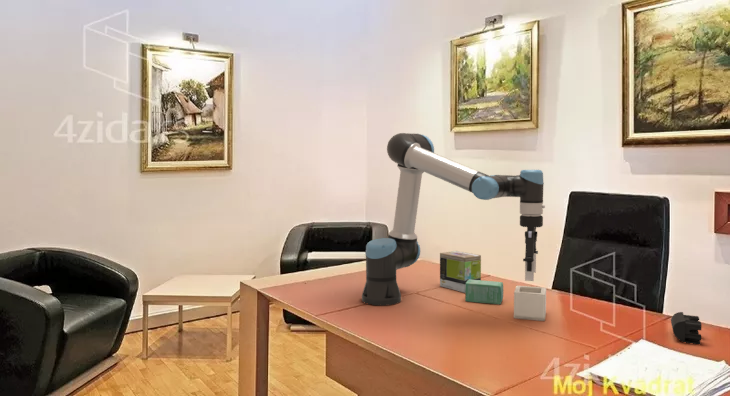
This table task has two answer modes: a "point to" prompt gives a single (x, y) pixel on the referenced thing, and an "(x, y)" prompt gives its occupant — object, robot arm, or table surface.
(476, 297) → the box
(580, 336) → the table surface
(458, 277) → the tea box
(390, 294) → the robot arm
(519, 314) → the tub
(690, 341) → the end cap
